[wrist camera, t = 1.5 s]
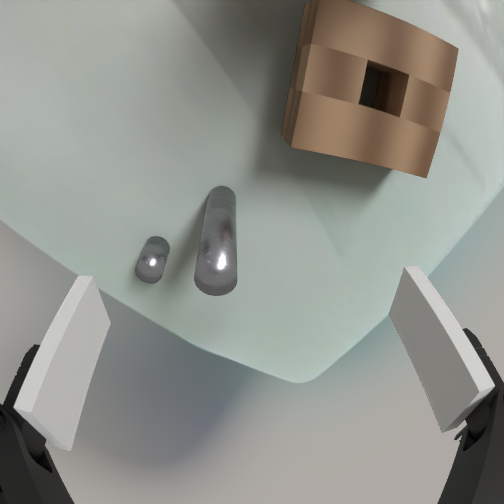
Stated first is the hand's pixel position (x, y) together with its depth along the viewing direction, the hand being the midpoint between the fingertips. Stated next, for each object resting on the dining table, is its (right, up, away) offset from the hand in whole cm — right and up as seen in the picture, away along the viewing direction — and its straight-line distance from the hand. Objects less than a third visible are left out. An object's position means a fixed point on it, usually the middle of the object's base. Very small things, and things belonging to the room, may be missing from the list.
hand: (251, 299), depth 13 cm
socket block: (+11, +19, +14) cm, 26 cm away
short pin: (-11, +2, +24) cm, 26 cm away
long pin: (-3, +8, +21) cm, 22 cm away
